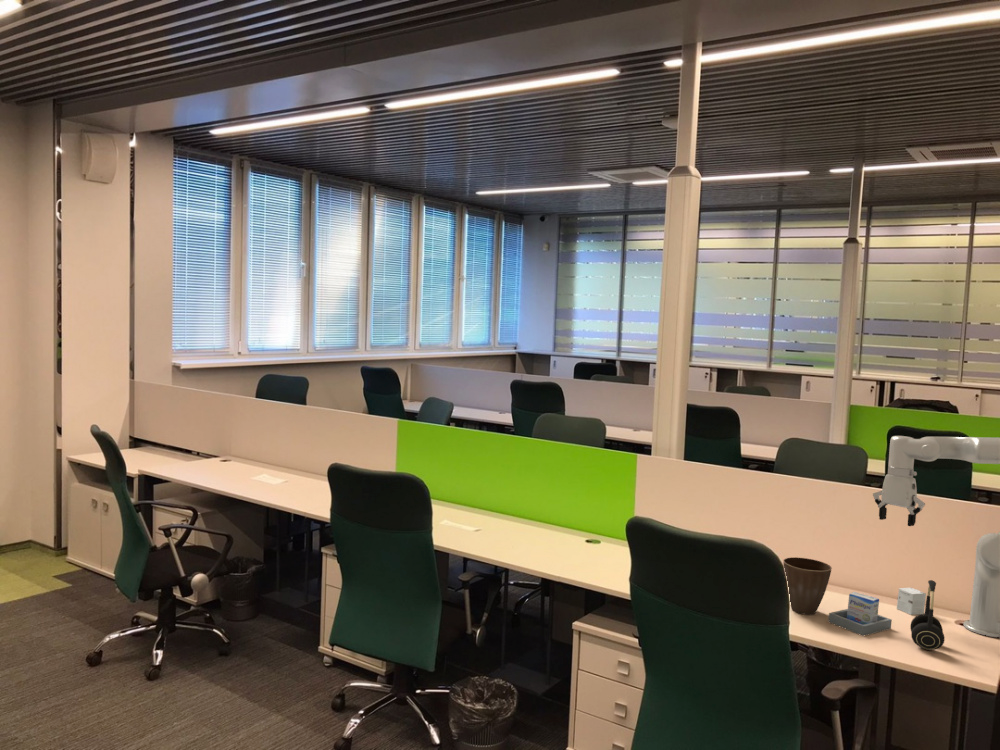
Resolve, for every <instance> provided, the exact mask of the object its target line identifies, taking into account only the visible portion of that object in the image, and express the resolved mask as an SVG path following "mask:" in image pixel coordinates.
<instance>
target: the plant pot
mask: <svg viewBox="0 0 1000 750" xmlns="http://www.w3.org/2000/svg"><path fill="white" fill-rule="evenodd" d="M782 561H783V562H782V563H783V569H784V568H785V572H786V576H787V581H788V587H789V594H790V601H789V603H790V602H791V605H790V607H791V610H792V611H793V612H794V613H796V614H799V615H800V614H801V615H804V616H805V615H806V616H813V615H815V614H816V613H817V611H818V609H819V607H820V605H821V603H822V601H823V598H824V595H825V593H826V590H827V588H828V584H829V581H830V577H831V573H832V569H833V568H832V566H831V565H829V564H828V563H826V562H823V561H821V560H817V559H813V558H812V559H811V558H805V557H798V556H797V557H786V558H784V559H783V560H782Z"/></svg>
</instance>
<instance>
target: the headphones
mask: <svg viewBox="0 0 1000 750" xmlns="http://www.w3.org/2000/svg"><path fill="white" fill-rule="evenodd" d="M927 583H928V587H927V588H928V589H927V594H926V598H925V606H924V614H917V615H916V616H914V617H913V618H912V620H911V622H910V628H909V629H910V632H911V638H912V641H913V643H914V644H915V645H916V646H917V647H919V648H921V649H924V650H926V649H927V650H928V651H934V650H937V649H940V648H941V647H942V646H943V645H944V643H945V640H946V639H945V634H944V630H943V626H942V624H941V622H940V621H939V620H938V619H937V618H936V617H935V616H934V600H935V592H936V591H935V590H936V585H937V582H936V581H934V580H932V579H931V580H928V582H927Z"/></svg>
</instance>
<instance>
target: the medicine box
mask: <svg viewBox="0 0 1000 750" xmlns="http://www.w3.org/2000/svg"><path fill="white" fill-rule="evenodd" d="M879 604H880V599H879V598H877V597H874V596H870V595H867V594H864V593H859V592H856V591H853V592H851V593H849V594H848V604H847V609H848V611H847V619H849V620H852V621H854V622H857V623H859V624H862V625H864V624H868V623H872V622H876V621H877V616H878V615H879V607H880V606H879Z"/></svg>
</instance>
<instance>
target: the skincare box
mask: <svg viewBox="0 0 1000 750" xmlns="http://www.w3.org/2000/svg"><path fill="white" fill-rule="evenodd" d="M897 595H898V596H897V602H896V609H897V610H898V611H901V612H903V613H906V614H908V615H909V616H914V615H916V616H918V615H921V614H925V607H926V599H927V593H926V592H923V591H921V590H919V589H916V588H913V587H900V588H898V594H897Z"/></svg>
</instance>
